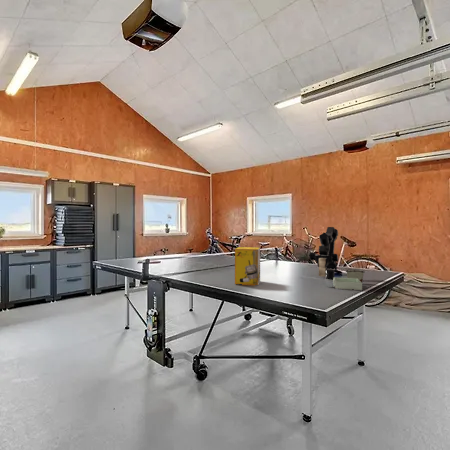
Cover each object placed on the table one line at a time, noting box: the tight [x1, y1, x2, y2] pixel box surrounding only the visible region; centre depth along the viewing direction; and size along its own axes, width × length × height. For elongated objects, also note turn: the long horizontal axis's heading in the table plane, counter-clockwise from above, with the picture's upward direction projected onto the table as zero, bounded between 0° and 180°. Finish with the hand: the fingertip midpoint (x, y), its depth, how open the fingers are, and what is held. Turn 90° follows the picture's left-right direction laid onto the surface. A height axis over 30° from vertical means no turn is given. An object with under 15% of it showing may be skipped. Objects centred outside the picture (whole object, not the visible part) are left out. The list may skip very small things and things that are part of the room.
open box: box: [332, 277, 363, 291], centre depth 201 cm, size 16×16×4 cm
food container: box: [345, 268, 365, 284], centre depth 213 cm, size 12×6×10 cm, turn 74°
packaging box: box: [234, 246, 261, 286], centre depth 214 cm, size 16×16×25 cm
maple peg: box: [318, 258, 327, 278], centre depth 203 cm, size 4×4×12 cm
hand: (321, 266), depth 202 cm, fingers closed on maple peg, 4 cm apart
